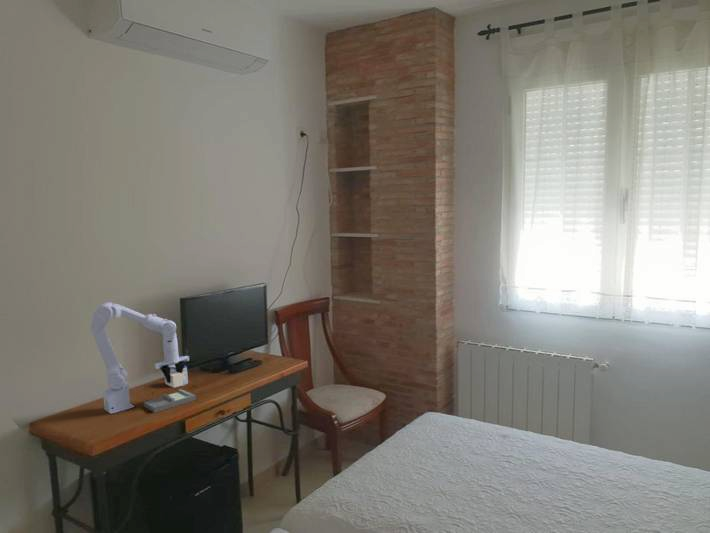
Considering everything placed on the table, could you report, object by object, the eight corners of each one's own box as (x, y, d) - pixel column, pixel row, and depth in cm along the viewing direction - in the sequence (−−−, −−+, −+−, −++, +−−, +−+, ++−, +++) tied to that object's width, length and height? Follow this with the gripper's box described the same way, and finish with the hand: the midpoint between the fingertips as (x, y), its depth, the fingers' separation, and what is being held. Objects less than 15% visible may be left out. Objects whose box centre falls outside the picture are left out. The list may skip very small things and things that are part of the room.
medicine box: (168, 384, 250) (167, 366, 249) (176, 381, 254) (174, 363, 253) (181, 386, 247) (179, 368, 246) (188, 383, 250) (186, 365, 250)
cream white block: (173, 387, 223) (172, 376, 223) (165, 383, 229) (164, 372, 229) (183, 385, 226) (181, 373, 226) (174, 381, 232) (173, 370, 231)
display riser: (154, 412, 216) (153, 404, 215) (144, 406, 223) (143, 399, 222) (195, 399, 228) (195, 392, 227) (185, 394, 235) (184, 387, 235)
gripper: (158, 355, 218) (161, 387, 220) (191, 347, 228) (194, 378, 230) (150, 352, 223) (154, 384, 225) (183, 344, 233) (186, 375, 235)
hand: (173, 381), depth 227 cm, fingers closed on cream white block, 4 cm apart
